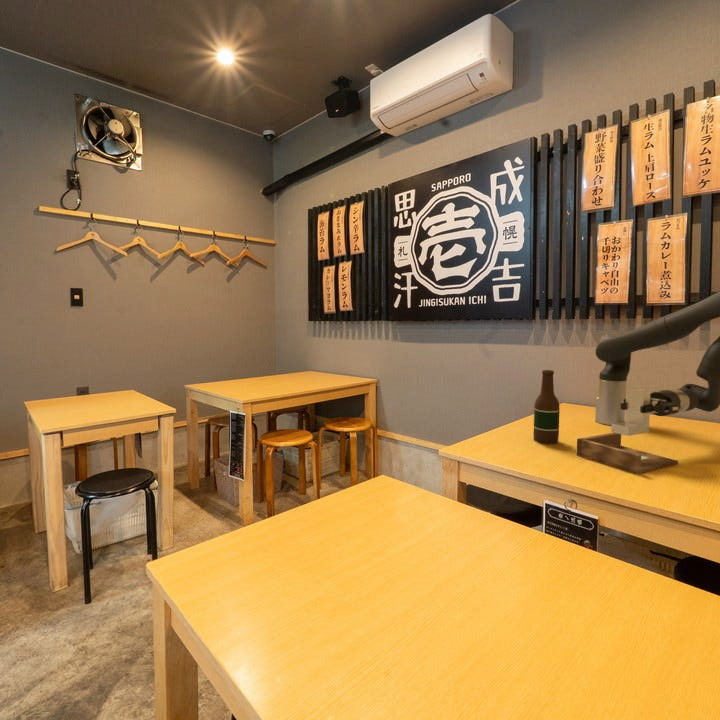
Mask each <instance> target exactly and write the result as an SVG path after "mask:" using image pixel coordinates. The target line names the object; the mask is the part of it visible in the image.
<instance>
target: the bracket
mask: <svg viewBox="0 0 720 720" xmlns="http://www.w3.org/2000/svg"><path fill="white" fill-rule="evenodd" d="M650 394H651V389H644V388H636V387H632V388H631V387H630V388H626V410H625V421H623V422H617V423H612V425H610V426H611V431H610V433H618V434H621V436H627V437H629V436H635V435H640V434H645V433H646V434H647V433H650V414H651V412H649V413H641V412H640V407H641V405H647V404H650Z"/></svg>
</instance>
